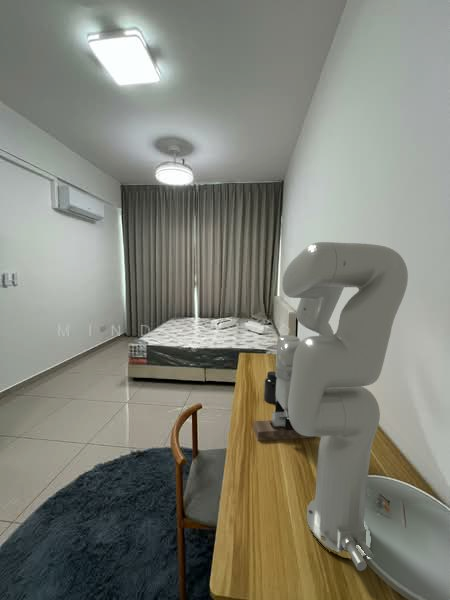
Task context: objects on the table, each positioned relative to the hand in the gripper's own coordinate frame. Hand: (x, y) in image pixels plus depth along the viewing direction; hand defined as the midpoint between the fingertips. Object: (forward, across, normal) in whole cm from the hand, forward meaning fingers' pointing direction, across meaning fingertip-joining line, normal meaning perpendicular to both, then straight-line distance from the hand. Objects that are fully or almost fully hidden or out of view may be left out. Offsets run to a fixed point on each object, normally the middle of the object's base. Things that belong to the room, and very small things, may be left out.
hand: (284, 420), depth 84 cm
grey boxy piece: (+4, 0, 0) cm, 5 cm away
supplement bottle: (+5, +23, -3) cm, 24 cm away
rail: (+4, 0, 0) cm, 4 cm away
